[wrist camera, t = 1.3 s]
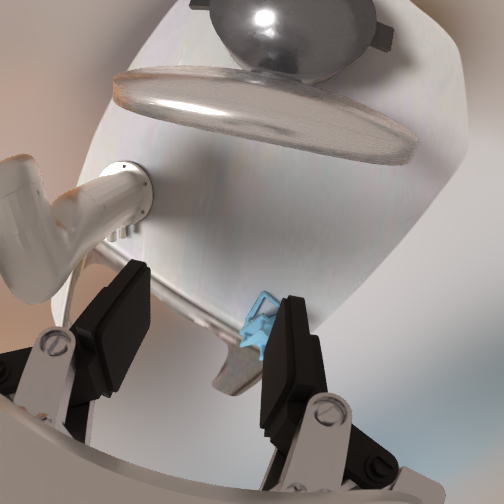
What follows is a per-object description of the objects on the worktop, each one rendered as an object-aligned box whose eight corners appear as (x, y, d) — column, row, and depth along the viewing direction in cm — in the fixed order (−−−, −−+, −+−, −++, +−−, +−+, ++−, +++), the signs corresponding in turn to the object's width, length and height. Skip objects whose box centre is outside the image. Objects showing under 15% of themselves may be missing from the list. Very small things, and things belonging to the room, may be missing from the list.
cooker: (356, 108, 40) (382, 104, 29) (194, 72, 39) (170, 57, 28) (376, 8, 30) (401, -15, 19) (223, -26, 29) (210, -58, 18)
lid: (365, 100, 29) (357, 125, 31) (186, 61, 28) (182, 86, 30) (483, 189, 10) (452, 244, 12) (36, 93, 9) (41, 154, 11)
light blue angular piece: (237, 312, 59) (230, 351, 49) (264, 290, 56) (262, 329, 46) (262, 331, 61) (260, 371, 51) (289, 311, 58) (292, 351, 48)
